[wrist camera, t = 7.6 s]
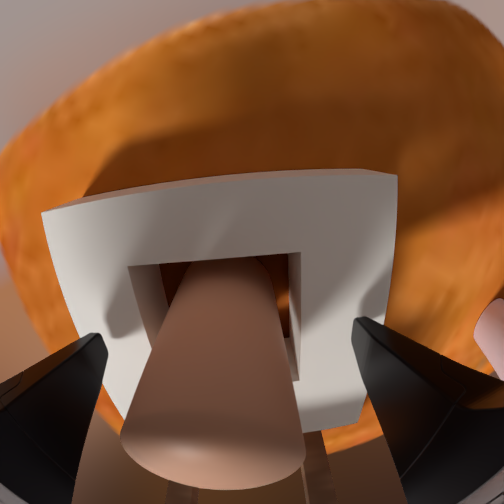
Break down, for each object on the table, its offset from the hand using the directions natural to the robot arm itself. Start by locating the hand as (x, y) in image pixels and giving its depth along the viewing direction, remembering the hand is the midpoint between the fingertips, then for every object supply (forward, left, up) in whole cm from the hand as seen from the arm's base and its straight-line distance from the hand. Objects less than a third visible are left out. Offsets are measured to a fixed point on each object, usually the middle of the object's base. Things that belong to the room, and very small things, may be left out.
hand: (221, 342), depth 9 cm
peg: (0, 0, -4) cm, 4 cm away
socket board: (0, 0, -4) cm, 4 cm away
